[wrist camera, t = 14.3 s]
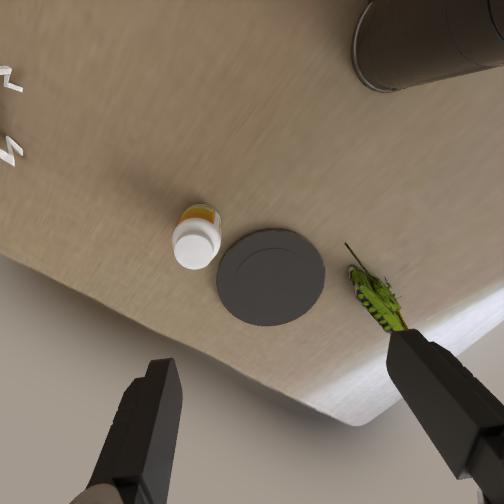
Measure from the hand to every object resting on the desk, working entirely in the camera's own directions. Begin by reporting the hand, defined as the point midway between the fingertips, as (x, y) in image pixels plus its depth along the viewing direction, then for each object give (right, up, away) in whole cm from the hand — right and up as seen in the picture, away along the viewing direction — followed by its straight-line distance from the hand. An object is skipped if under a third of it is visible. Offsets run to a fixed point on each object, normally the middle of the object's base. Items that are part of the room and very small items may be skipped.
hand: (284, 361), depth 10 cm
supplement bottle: (-8, +8, +27) cm, 29 cm away
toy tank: (+17, +1, +32) cm, 36 cm away
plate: (+2, 0, +31) cm, 31 cm away
